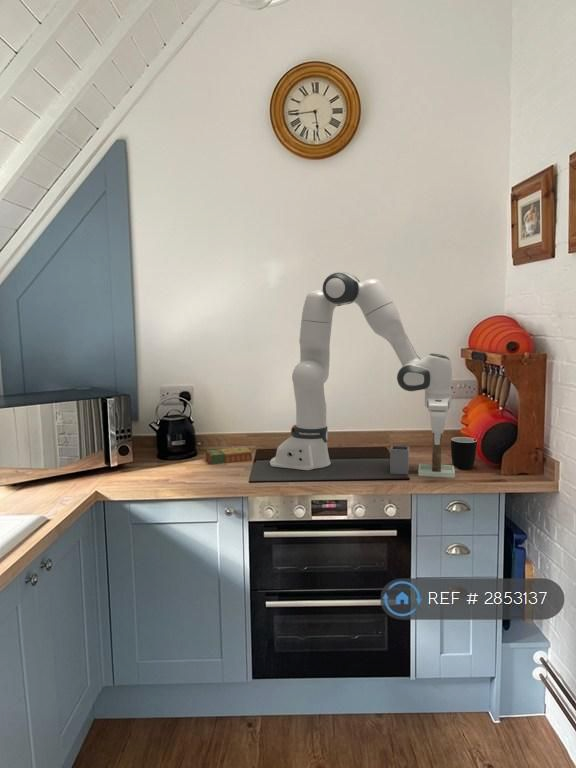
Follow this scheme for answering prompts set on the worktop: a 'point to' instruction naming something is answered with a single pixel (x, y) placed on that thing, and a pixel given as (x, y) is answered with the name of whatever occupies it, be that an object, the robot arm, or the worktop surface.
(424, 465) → the tray
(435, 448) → the dowel
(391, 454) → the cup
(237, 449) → the carton
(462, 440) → the mug
